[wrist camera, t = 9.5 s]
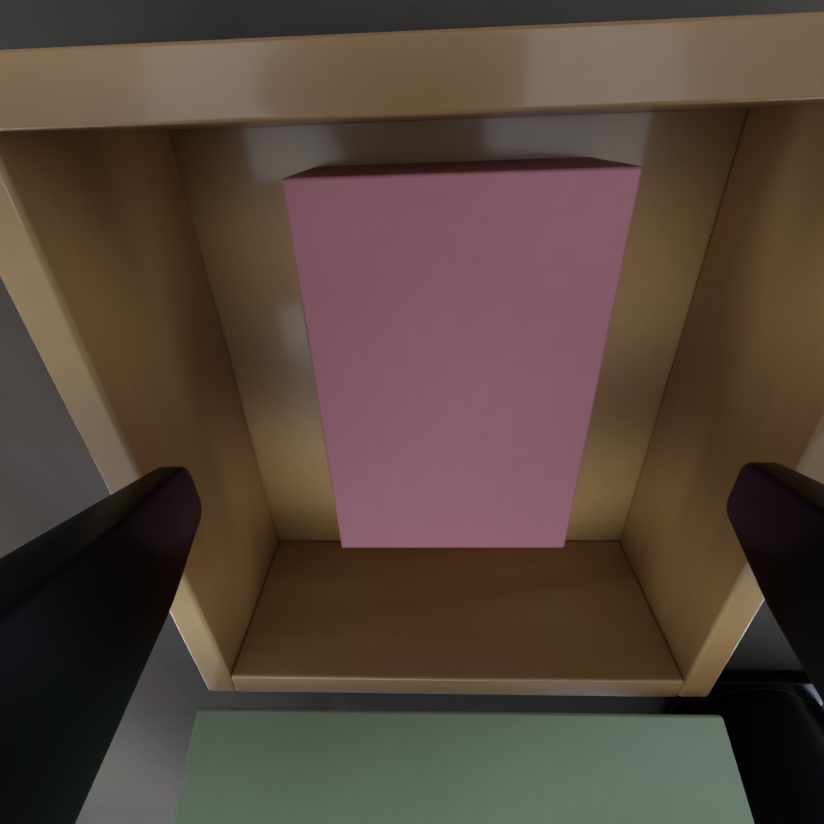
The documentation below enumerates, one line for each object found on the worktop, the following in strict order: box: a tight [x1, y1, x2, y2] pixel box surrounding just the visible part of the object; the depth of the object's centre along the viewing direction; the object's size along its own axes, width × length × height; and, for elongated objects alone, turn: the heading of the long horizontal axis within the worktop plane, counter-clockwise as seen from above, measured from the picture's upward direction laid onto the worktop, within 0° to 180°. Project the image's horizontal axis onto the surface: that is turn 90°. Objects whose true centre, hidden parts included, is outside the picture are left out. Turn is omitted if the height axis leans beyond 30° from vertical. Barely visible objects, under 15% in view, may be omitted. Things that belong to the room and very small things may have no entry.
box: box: [0, 11, 824, 697], centre depth 11 cm, size 14×14×6 cm
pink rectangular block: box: [282, 157, 642, 548], centre depth 11 cm, size 6×9×3 cm, turn 2°
